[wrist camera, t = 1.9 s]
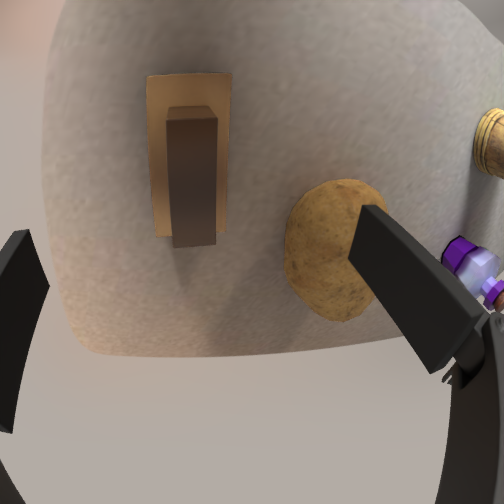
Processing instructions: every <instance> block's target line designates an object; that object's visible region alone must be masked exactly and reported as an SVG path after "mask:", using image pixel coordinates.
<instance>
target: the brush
mask: <svg viewBox="0 0 504 504" xmlns="http://www.w3.org/2000/svg"><path fill="white" fill-rule="evenodd" d="M231 81H232V74H228V73H179V74H162V75H151V76H148V77H146V99H147V134H148V153H149V168H150V181H151V193H152V203H153V213H154V222H155V230H156V237H165V236H172V242H173V248H183V247H195V246H207V245H216V232H225V231H226V198H227V167H228V142H229V119H230V99H231Z"/></svg>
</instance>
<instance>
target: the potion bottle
mask: <svg viewBox="0 0 504 504" xmlns="http://www.w3.org/2000/svg"><path fill="white" fill-rule="evenodd" d="M501 260H502V259H501V258H499V257H498V256H496V255H495V254H493V253H492V252H490V251H488V250H487V249H486V248H484V247H481V246H479V247H478V246H476V245H474V244H472V243H471V242H469V241H467V240H465V238H464V237H462V236H460V235H459V236H458V237H456V238H455V239H453V240H452V241H450V242H449V244H448V245H447V247H446V249H445V250H444V252H443V253H442V258H441V264H442V265H443V266H444V267H445V268H447V269H448V270H449V271H450V272H451V273H452V274H453V275H454V276H455V277H456V278H457V280H459V281H460V282H461V283H462V284H463V285H464V286H463V287H464V288H466V289H467V290H468V291H469V292H470V293H471V294H472V295H473V296H474V297H475V299H477V298H478V297H479V296H480V295H483V296H484V297H485V300H484V303H483V305H484V306H485V307H486V308H487V309H488V310H490V311H491V310H493V309H495V311H496V312H501V311H502V310H503V309H504V281H502V280H500V281H499V282H497V281H496V280H495V279H494V278H495V277H496V275H497V273H498V270H499V266H500V263H501Z"/></svg>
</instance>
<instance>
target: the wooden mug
mask: <svg viewBox="0 0 504 504" xmlns="http://www.w3.org/2000/svg"><path fill="white" fill-rule="evenodd" d="M474 160H475V163H476V166H477V167H478V169H479V170H480V171H482V172H483V173H486V174H489V175H491V176H494V175H495V176H497V177H500V178H502V179H504V111H503V110H501V109H499V108H497V109H491V110H489V111H488V112H487V113H486V114H485V115H484V116H483V118H482V119H481V121H480V123H479V125H478V128H477V131H476V134H475V141H474Z"/></svg>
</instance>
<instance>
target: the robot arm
mask: <svg viewBox="0 0 504 504" xmlns="http://www.w3.org/2000/svg"><path fill="white" fill-rule="evenodd" d="M348 260H349V261H350V263H351V264H352V265H353V267H354V268H355V269H356V270H357V272H358V273H359V274H360V276H361V277H362V278H363V280H364V281H365V282H366V284H367V285H368V286H369V288H370V289H371V290H372V292H373V293H374V294H375V296H376V297H377V298H378V300H379V301H380V302H381V304H382V305H383V307H384V308H385V309H386V311H387V312H388V313H389V315H390V316H391V318H392V319H393V320H394V322H395V323H396V325H397V326H398V328H399V329H400V330H401V332H402V333H403V335H404V336H405V338H406V339H407V341H408V342H409V343H410V345H411V346H412V348H413V349H414V351H415V352H416V354H417V355H418V357H419V358H420V360H421V361H422V363H423V364H424V366H425V367H426V369H427V371H428V372H429V374H432V373H434V372H436V371H438V370H440V369H442V368H444V367H445V366H446V364H447V363H448V362H449V361H450V359H451V358H452V357H454V358H455V360H456V362H455V363H454V365H453V366H452V367H451V368H450V370H449V371H448V372H447V373H446V374H445V375H444V377H443V378H442V382H443V383H444V382H445V381H446V380H447V379H448V378H449V376H450V375H452V378H451V379H450V380H449V381H448V383H447V384H450V385H452V391H451V407H450V419H449V429H448V438H447V445H446V452H445V458H444V465H443V470H442V475H441V480H440V484H439V489H438V493H437V497H436V501H435V504H504V314H502V313H500V312H493V313H491V315H490V314H489V313H488V312H487V311H486V310H485V309H484V308H483V306H482V305H481V304H480V303H479V302H478V301H477V300H476V299H475V297H474V296H473V295H472V294H471V293H470V292H469V291H468V290H467V289H466V288H464V287H463V286H464V285H463V284H462V283H461V282H460V281H459V280H457V278H456V277H455V276H454V275H453V274H452V273H451V272H450V271H449V270H448V269H447V268H445V267H444V266H443V265H442V264H441V263H440V262H439V261H438V260H437V259H436V258H435V257H434V256H433V255H431V254H430V253H429V252H428V251H427V250H426V249H425V248H424V247H423V246H422V245H421V244H420V243H419V242H418V241H417V240H416V239H415V238H414V237H413V236H411V235H410V234H409V233H408V232H407V231H406V230H405V229H404V228H403V227H402V226H401V225H399V224H398V223H397V222H396V221H395V220H394V219H393V218H391V217H390V216H389V215H388V214H387V213H386V212H385V211H383V210H382V209H381V208H380V207H379V206H378V205H376V204H367V205H362V207H361V211H360V215H359V219H358V222H357V226H356V230H355V234H354V237H353V241H352V245H351V248H350V252H349V255H348ZM49 287H50V285H49V283H48V281H47V278H46V276H45V273H44V271H43V268H42V265H41V263H40V260H39V257H38V255H37V252H36V249H35V246H34V243H33V240H32V237H31V234H30V231H29V229H26V230H19V231H14V232H13V233H12V235H11V236H10V238H9V239H8V241H7V242H6V243H5V245H4V246H3V248H2V249H1V251H0V431H1V432H6V433H10V434H12V433H13V425H14V417H15V411H16V405H17V400H18V394H19V389H20V384H21V380H22V375H23V371H24V367H25V362H26V359H27V355H28V351H29V348H30V344H31V341H32V337H33V334H34V330H35V327H36V324H37V321H38V318H39V315H40V312H41V309H42V306H43V303H44V300H45V298H46V295H47V292H48V290H49ZM0 504H26V503H25V502H24V500H23V499H22V497H21V495H20V494H19V492H18V490H17V489H16V487H15V485H14V484H13V483H12V481H11V479H10V477H9V475H8V473H7V471H6V470H5V468H4V466H3V464H2V462H1V460H0Z"/></svg>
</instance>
